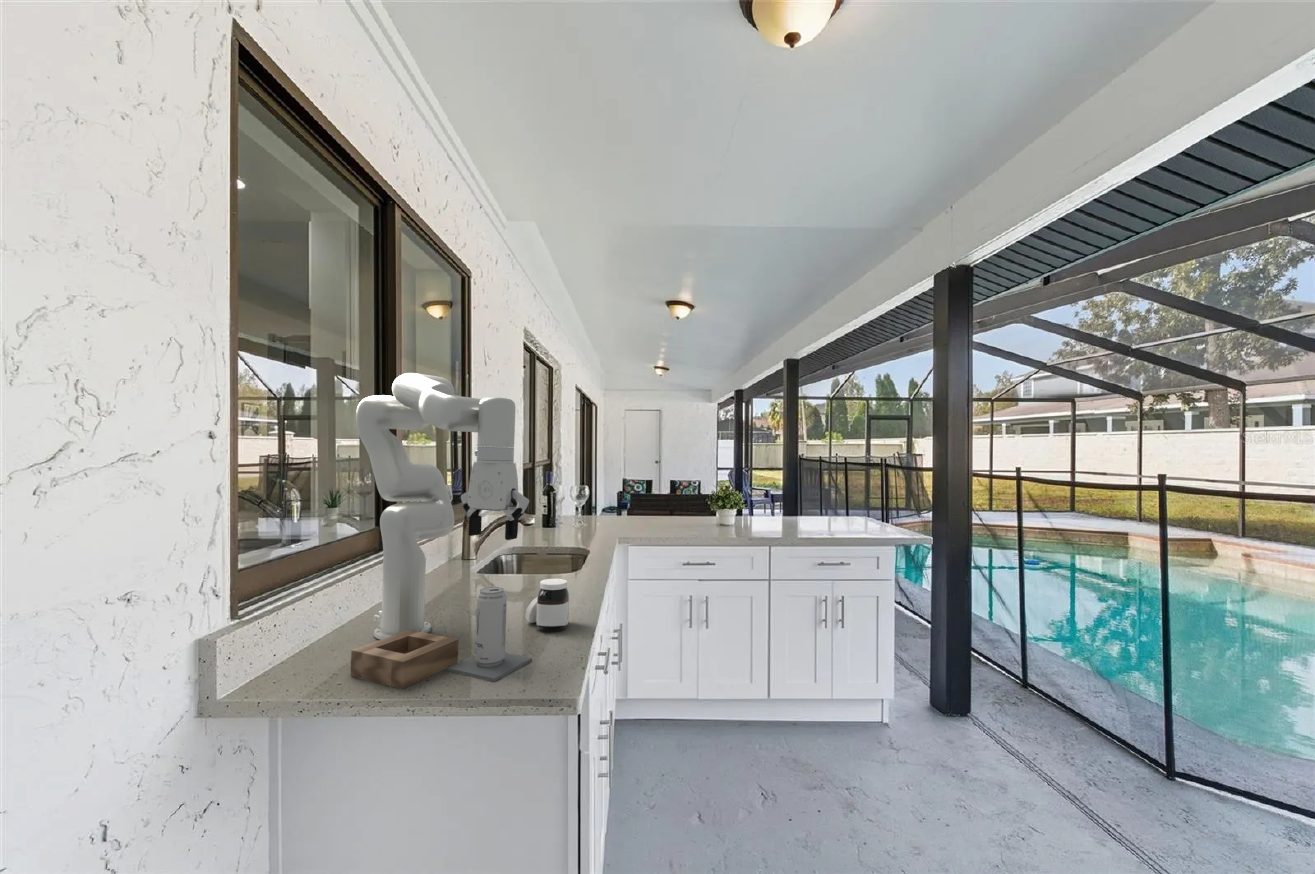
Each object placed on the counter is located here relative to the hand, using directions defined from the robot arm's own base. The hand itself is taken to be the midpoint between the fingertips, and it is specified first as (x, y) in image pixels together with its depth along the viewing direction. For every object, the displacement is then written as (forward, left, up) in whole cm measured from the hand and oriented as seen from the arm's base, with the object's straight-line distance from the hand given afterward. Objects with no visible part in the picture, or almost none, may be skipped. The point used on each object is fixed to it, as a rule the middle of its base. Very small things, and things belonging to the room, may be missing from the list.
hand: (492, 537), depth 115 cm
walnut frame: (-13, -10, -27) cm, 31 cm away
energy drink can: (+1, -1, -26) cm, 26 cm away
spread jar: (-4, +26, -27) cm, 38 cm away
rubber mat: (+1, -1, -27) cm, 27 cm away
